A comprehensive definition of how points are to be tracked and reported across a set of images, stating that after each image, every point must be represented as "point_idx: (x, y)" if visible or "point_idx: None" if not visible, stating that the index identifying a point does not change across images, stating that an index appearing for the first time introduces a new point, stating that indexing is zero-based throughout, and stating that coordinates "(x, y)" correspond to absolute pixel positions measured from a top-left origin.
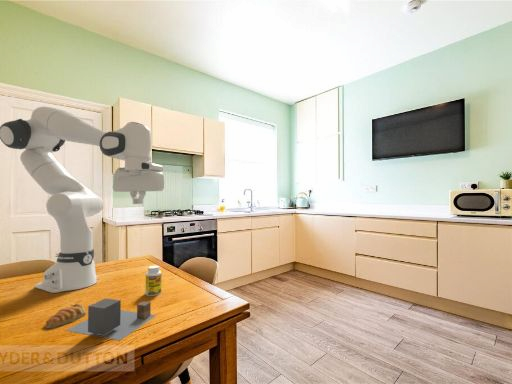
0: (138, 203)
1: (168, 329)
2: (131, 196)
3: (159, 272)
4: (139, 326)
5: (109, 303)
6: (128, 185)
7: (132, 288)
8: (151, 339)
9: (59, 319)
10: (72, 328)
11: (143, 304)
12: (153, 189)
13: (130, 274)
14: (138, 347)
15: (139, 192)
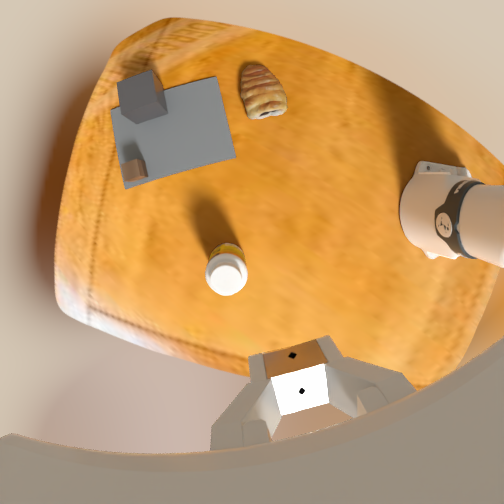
0: (260, 353)
1: (79, 173)
2: (372, 366)
3: (208, 281)
4: (117, 147)
5: (127, 95)
6: (483, 432)
7: (306, 258)
8: (80, 142)
9: (245, 74)
10: (212, 83)
11: (126, 166)
12: (21, 442)
13: (389, 313)
14: (81, 121)
15: (248, 440)
